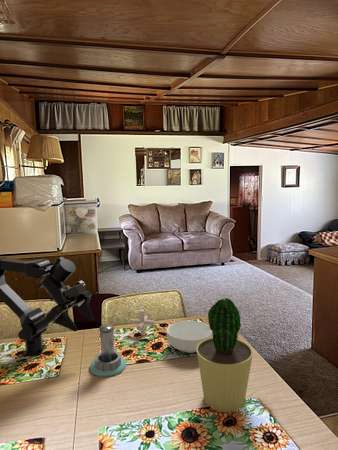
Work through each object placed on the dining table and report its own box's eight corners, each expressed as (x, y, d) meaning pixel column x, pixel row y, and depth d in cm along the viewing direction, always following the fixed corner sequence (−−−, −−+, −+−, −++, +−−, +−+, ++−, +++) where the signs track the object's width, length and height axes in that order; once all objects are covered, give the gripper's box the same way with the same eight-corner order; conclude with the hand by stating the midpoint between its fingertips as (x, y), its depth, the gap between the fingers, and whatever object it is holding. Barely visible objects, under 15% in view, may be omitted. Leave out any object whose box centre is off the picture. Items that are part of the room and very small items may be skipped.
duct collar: (92, 358, 117) (91, 349, 117) (126, 355, 118) (126, 347, 118) (87, 378, 105) (87, 368, 105) (125, 375, 106) (125, 365, 106)
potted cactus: (234, 377, 104) (235, 284, 100) (263, 409, 89) (265, 302, 85) (188, 388, 99) (187, 291, 95) (211, 423, 85) (210, 311, 81)
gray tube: (98, 362, 112) (97, 326, 111) (112, 358, 115) (110, 322, 113) (103, 369, 108) (102, 331, 107) (117, 365, 111) (116, 328, 109)
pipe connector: (151, 340, 129) (150, 316, 127) (127, 338, 131) (126, 314, 129) (157, 329, 138) (157, 306, 137) (134, 327, 140) (133, 305, 139)
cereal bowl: (220, 343, 126) (220, 325, 125) (199, 364, 112) (199, 344, 111) (181, 333, 135) (180, 316, 134) (158, 351, 121) (157, 332, 120)
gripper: (51, 283, 104) (82, 322, 101) (86, 268, 121) (113, 301, 118) (32, 304, 107) (62, 342, 105) (69, 287, 125) (95, 319, 122)
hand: (85, 325), depth 113 cm, fingers open, 9 cm apart
